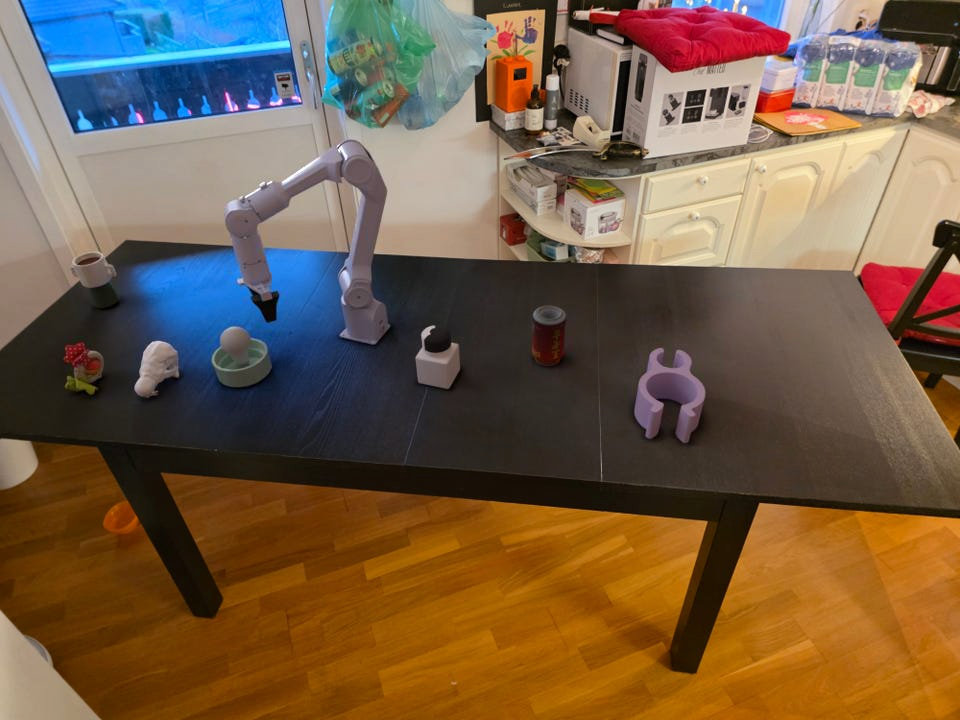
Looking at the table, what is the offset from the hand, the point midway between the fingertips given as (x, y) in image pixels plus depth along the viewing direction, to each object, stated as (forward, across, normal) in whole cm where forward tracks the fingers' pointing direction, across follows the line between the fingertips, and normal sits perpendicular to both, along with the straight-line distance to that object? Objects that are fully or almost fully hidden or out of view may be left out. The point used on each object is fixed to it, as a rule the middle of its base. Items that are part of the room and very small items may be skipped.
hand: (266, 312), depth 145 cm
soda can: (+11, +34, +51) cm, 63 cm away
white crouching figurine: (+10, -1, -26) cm, 28 cm away
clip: (+11, +60, +63) cm, 88 cm away
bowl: (+10, +4, -8) cm, 14 cm away
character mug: (+10, -42, -32) cm, 54 cm away
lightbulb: (+10, +4, -8) cm, 14 cm away
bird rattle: (+10, -8, -38) cm, 41 cm away
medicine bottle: (+11, +28, +28) cm, 41 cm away
